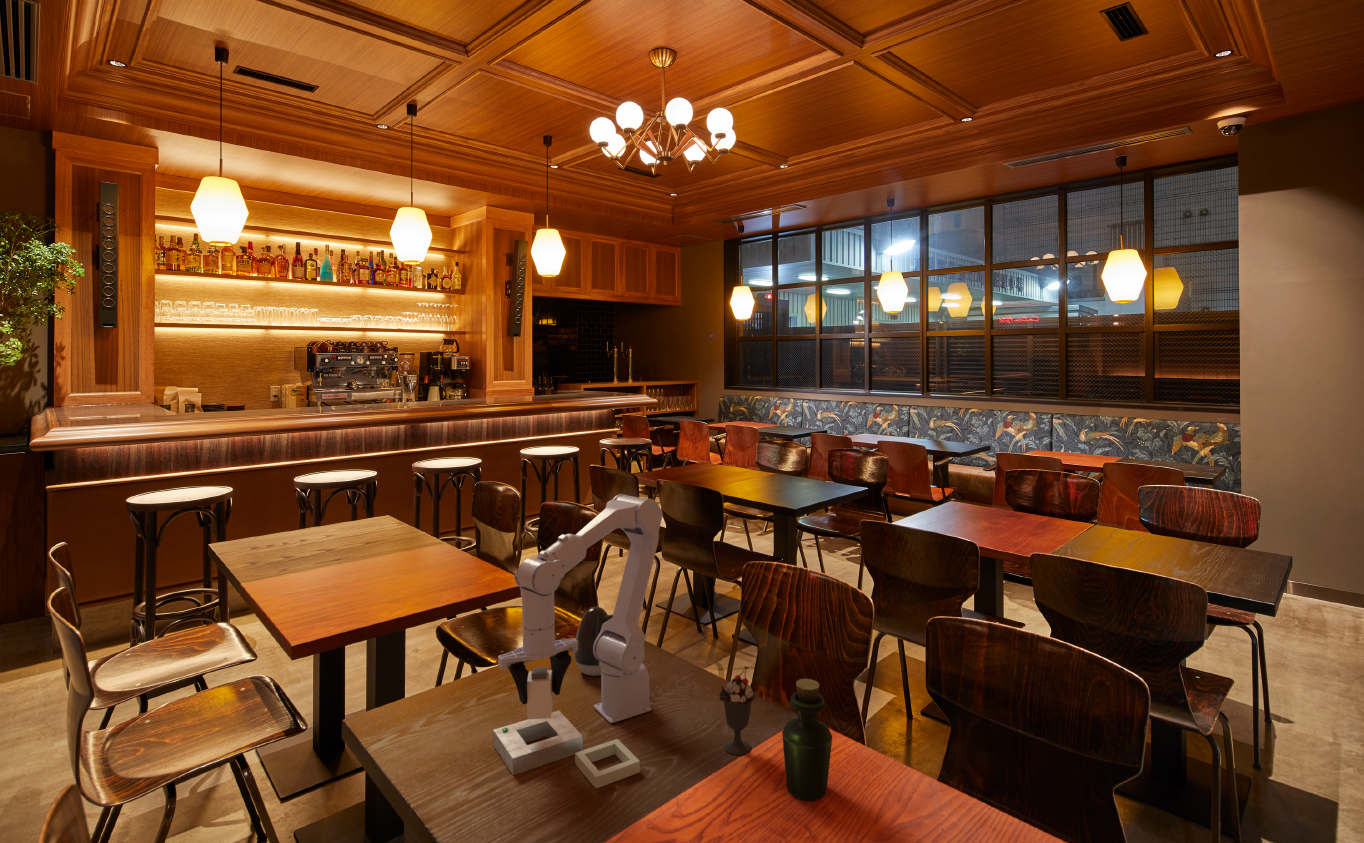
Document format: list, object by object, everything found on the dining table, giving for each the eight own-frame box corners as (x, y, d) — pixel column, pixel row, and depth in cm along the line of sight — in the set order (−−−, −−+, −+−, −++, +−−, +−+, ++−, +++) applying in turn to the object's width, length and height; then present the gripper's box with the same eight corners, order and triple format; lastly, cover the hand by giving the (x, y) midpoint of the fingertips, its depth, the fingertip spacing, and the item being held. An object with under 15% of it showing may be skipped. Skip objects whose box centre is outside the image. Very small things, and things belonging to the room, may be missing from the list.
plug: (552, 706, 123) (552, 664, 122) (550, 717, 119) (550, 674, 118) (529, 707, 122) (529, 666, 122) (527, 719, 118) (526, 676, 118)
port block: (559, 724, 129) (559, 708, 129) (582, 751, 120) (582, 734, 120) (493, 745, 122) (493, 728, 122) (513, 775, 113) (512, 756, 113)
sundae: (760, 742, 123) (760, 664, 122) (748, 761, 117) (748, 679, 116) (727, 734, 126) (727, 658, 125) (714, 752, 120) (714, 672, 119)
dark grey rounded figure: (599, 685, 146) (598, 618, 145) (564, 674, 151) (563, 609, 150) (627, 668, 154) (627, 605, 153) (593, 658, 160) (593, 597, 159)
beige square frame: (617, 749, 121) (617, 738, 121) (639, 772, 114) (639, 761, 114) (575, 763, 116) (575, 753, 116) (595, 788, 109) (595, 777, 109)
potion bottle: (819, 771, 114) (820, 670, 113) (840, 801, 106) (841, 693, 105) (774, 777, 112) (775, 675, 111) (792, 808, 104) (793, 698, 103)
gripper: (566, 610, 127) (567, 678, 128) (492, 626, 119) (493, 698, 120) (582, 621, 121) (583, 693, 122) (504, 639, 113) (506, 715, 114)
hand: (539, 697), depth 120 cm, fingers closed on plug, 6 cm apart
